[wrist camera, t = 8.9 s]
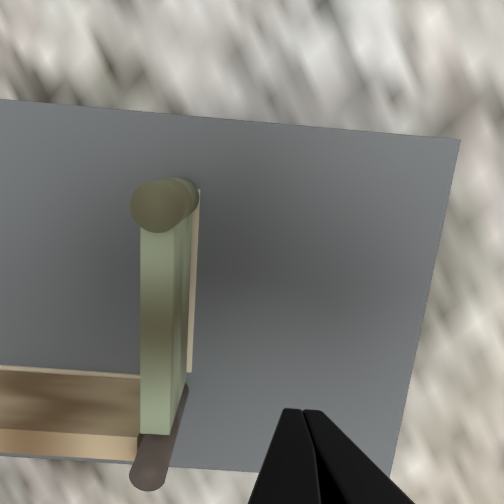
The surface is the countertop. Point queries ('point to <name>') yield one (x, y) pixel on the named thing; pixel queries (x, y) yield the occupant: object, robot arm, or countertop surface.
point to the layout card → (226, 266)
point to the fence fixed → (84, 422)
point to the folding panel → (163, 296)
